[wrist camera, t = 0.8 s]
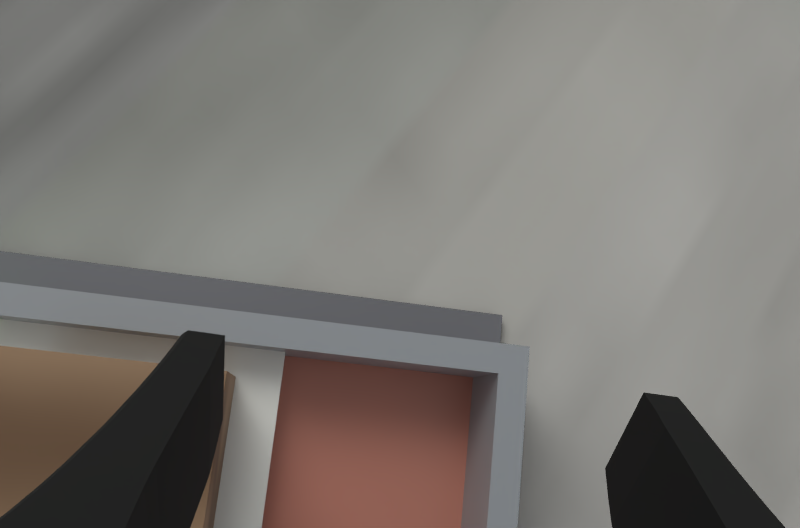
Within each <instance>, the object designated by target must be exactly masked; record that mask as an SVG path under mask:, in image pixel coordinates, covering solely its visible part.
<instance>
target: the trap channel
mask: <svg viewBox="0 0 800 528" xmlns="http://www.w3.org/2000/svg"><path fill="white" fill-rule="evenodd" d="M501 326H502V315H496V314H488V313H481V312H473V311H465V310H457V309H449V308H441V307H434V306H426V305H418V304H410V303H402V302H394V301H387V300H379V299H371V298H363V297H355V296H347V295H340V294H332V293H324V292H316V291H308V290H301V289H293V288H285V287H277V286H269V285H261V284H254V283H246V282H238V281H230V280H222V279H214V278H207V277H199V276H191V275H183V274H175V273H167V272H160V271H152V270H144V269H136V268H128V267H120V266H113V265H105V264H97V263H89V262H81V261H73V260H66V259H58V258H50V257H42V256H34V255H27V254H19V253H11V252H3V251H0V346H9V347H18V348H27V349H36V350H44V351H53V352H62V353H71V354H80V355H89V356H98V357H107V358H116V359H125V360H134V361H143V362H152V363H160V361H161V360H162V359H163V358H164V356H165V355H166V354H167V353H168V351H169V350H170V349H171V348H172V346H173V345H174V344H175V342H176V341H177V340H178V338H179V337H180V336H181V334H183V333H185V332H186V331H188V330H190V331H198V332H205V333H212V334H220V335H225V358H224V371H228V372H229V373H231V374H232V375H234V376H235V377H236V379H235V386H234V392H233V399H232V406H231V412H230V419H229V426H228V433H227V439H226V446H225V453H224V459H223V466H222V473H221V479H220V486H219V493H218V500H217V506H216V513H215V520H214V526H213V528H518V514H519V498H520V483H521V468H522V453H523V438H524V423H525V408H526V393H527V378H528V363H529V347H528V346H520V345H512V344H504V343H500V339H501Z"/></svg>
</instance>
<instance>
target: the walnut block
mask: <svg viewBox="0 0 800 528" xmlns="http://www.w3.org/2000/svg"><path fill="white" fill-rule="evenodd" d="M158 364H159V363H152V362H143V361H134V360H125V359H116V358H107V357H98V356H89V355H80V354H71V353H62V352H53V351H44V350H36V349H27V348H18V347H9V346H0V517H1V516H3V515H4V514H5V513H6V512H8V511H9V510H10V509H11V508H13V507H14V506H15V505H16V504H17V503H19V502H20V501H21V500H22V499H23V498H25V497H26V496H27V495H28V494H29V493H31V492H32V491H33V490H34V489H35V488H37V487H38V486H39V485H40V484H41V483H42V482H44V481H45V480H46V479H47V478H48V477H49V476H50V475H51V474H53V473H54V472H55V471H56V470H57V469H58V468H59V467H60V466H61V465H62V464H64V463H65V462H66V461H67V460H68V459H69V458H70V457H71V456H72V455H73V454H74V453H75V452H76V451H77V450H78V449H79V448H80V447H81V446H82V445H83V444H84V443H85V442H86V441H87V440H88V439H90V438H91V437H92V436H93V435H94V434H95V433H96V432H97V431H98V430H99V429H100V428H101V427H102V426H103V425H104V424H105V423H106V422H107V421H108V420H109V419H110V417H111V416H112V415H113V414H114V413H115V412H116V411H117V410H118V409H119V408H120V407H121V406H122V405H123V403H124V402H125V401H126V400H127V399H128V398H129V397H130V396H131V395H132V394H133V393H134V392H135V391H136V389H137V388H138V387H139V386H140V385H141V384H142V383H143V381H144V380H145V379H146V378H147V377H148V376H149V374H150V373H151V372H152V371H153V370H154V369H155V367H156V366H157V365H158ZM235 379H236V377H235V376H234V375H232V374H231V373H229V372H228V371H224V398H223V421H222V425H221V429H220V434H219V438H218V442H217V446H216V450H215V454H214V458H213V462H212V466H211V470H210V474H209V477H208V480H207V483H206V486H205V489H204V491H203V494H202V497H201V500H200V502H199V505H198V508H197V511H196V513H195V516H194V519H193V522H192V524H191V527H190V528H213V526H214V520H215V513H216V506H217V500H218V493H219V486H220V479H221V473H222V466H223V459H224V453H225V446H226V439H227V433H228V426H229V419H230V412H231V406H232V399H233V392H234V386H235Z"/></svg>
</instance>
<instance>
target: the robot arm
mask: <svg viewBox="0 0 800 528" xmlns="http://www.w3.org/2000/svg"><path fill="white" fill-rule="evenodd" d="M224 358H225V335H220V334H212V333H205V332H198V331H190V330H188V331H186V332H185V333H183V334H181V336H180V337H179V338H178V340H177V341H176V342H175V344H174V345H173V346H172V348H171V349H170V350H169V351H168V353H167V354H166V355H165V356H164V358H163V359H162V360H161V361H160V363H159V364H158V365H157V366H156V367H155V369H154V370H153V371H152V372H151V373H150V374H149V376H148V377H147V378H146V379H145V380H144V381H143V383H142V384H141V385H140V386H139V387H138V388H137V389H136V391H135V392H134V393H133V394H132V395H131V396H130V397H129V398H128V399H127V400H126V401H125V402H124V403H123V405H122V406H121V407H120V408H119V409H118V410H117V411H116V412H115V413H114V414H113V415H112V416H111V417H110V419H109V420H108V421H107V422H106V423H105V424H104V425H103V426H102V427H101V428H100V429H99V430H98V431H97V432H96V433H95V434H94V435H93V436H92V437H91V438H90V439H88V440H87V441H86V442H85V443H84V444H83V445H82V446H81V447H80V448H79V449H78V450H77V451H76V452H75V453H74V454H73V455H72V456H71V457H70V458H69V459H68V460H67V461H66V462H65V463H64V464H62V465H61V466H60V467H59V468H58V469H57V470H56V471H55V472H54V473H53V474H51V475H50V476H49V477H48V478H47V479H46V480H45V481H44V482H42V483H41V484H40V485H39V486H38V487H37V488H35V489H34V490H33V491H32V492H31V493H29V494H28V495H27V496H26V497H25V498H23V499H22V500H21V501H20V502H19V503H17V504H16V505H15V506H14V507H13V508H11V509H10V510H9V511H8V512H6V513H5V514H4V515H3V516H1V517H0V528H190V527H191V524H192V522H193V519H194V516H195V513H196V511H197V508H198V505H199V502H200V500H201V497H202V494H203V491H204V489H205V486H206V483H207V480H208V477H209V474H210V470H211V466H212V462H213V458H214V454H215V450H216V446H217V442H218V438H219V434H220V429H221V425H222V421H223V398H224ZM605 469H606V479H607V489H608V499H609V507H610V514H611V522H612V527H613V528H785V527H784V526H783V524H782V523H781V522H780V521H779V520H778V519H777V518H776V516H775V515H774V514H773V513H772V512H771V511H770V510H769V508H768V507H767V506H766V505H765V504H764V502H763V501H762V500H761V499H760V498H759V497H758V495H757V494H756V493H755V492H754V491H753V489H752V488H751V487H750V486H749V485H748V483H747V482H746V481H745V480H744V478H743V477H742V476H741V475H740V474H739V472H738V471H737V470H736V469H735V467H734V466H733V465H732V464H731V462H730V461H729V460H728V459H727V457H726V456H725V455H724V454H723V452H722V451H721V450H720V449H719V447H718V446H717V445H716V444H715V442H714V441H713V440H712V439H711V437H710V436H709V435H708V434H707V432H706V431H705V430H704V429H703V427H702V426H701V425H700V424H699V422H698V421H697V420H696V419H695V417H694V416H693V415H692V414H691V412H690V411H689V410H688V409H687V408H686V406H685V405H684V404H683V403H682V402H681V400H680V399H679V398H678V397H672V396H665V395H657V394H650V393H643V395H642V397H641V399H640V401H639V403H638V405H637V407H636V409H635V411H634V413H633V415H632V417H631V419H630V421H629V423H628V425H627V427H626V429H625V431H624V433H623V435H622V436H621V438H620V440H619V442H618V444H617V446H616V448H615V450H614V452H613V454H612V456H611V458H610V460H609V462H608V464H607V466H606V468H605Z"/></svg>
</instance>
